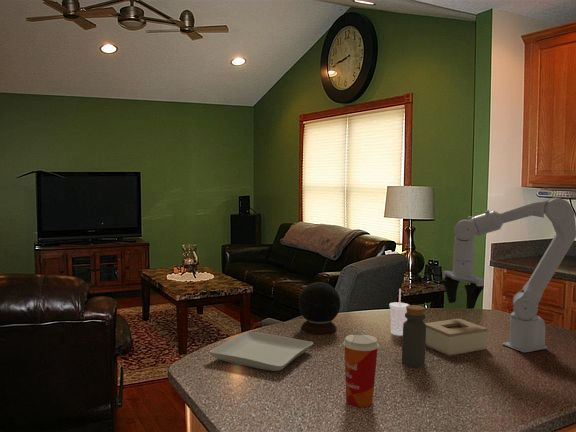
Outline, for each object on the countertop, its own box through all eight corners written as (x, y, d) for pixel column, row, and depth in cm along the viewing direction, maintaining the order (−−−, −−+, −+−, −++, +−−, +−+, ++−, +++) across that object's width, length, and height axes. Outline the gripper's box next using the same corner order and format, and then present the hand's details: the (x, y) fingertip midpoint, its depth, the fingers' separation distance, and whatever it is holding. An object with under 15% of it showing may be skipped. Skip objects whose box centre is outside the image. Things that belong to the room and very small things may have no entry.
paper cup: (338, 394, 119) (340, 333, 118) (372, 394, 120) (374, 333, 119) (345, 410, 111) (347, 344, 110) (381, 409, 112) (383, 344, 111)
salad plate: (314, 352, 148) (314, 340, 147) (281, 379, 129) (281, 365, 128) (247, 341, 157) (247, 329, 156) (207, 364, 137) (207, 351, 137)
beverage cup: (411, 332, 167) (413, 288, 166) (404, 337, 162) (406, 291, 160) (392, 329, 170) (394, 285, 169) (385, 333, 165) (386, 289, 164)
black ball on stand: (289, 330, 166) (290, 283, 165) (310, 321, 177) (311, 276, 176) (327, 338, 159) (328, 288, 158) (346, 328, 170) (348, 281, 169)
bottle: (425, 368, 136) (427, 310, 135) (401, 366, 137) (403, 309, 136) (424, 360, 142) (426, 305, 141) (401, 358, 143) (403, 303, 142)
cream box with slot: (458, 337, 162) (459, 318, 162) (486, 349, 152) (487, 328, 152) (422, 343, 156) (422, 323, 155) (448, 355, 146) (449, 334, 146)
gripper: (435, 257, 163) (434, 301, 165) (471, 265, 151) (469, 312, 152) (453, 256, 167) (451, 299, 168) (489, 263, 154) (487, 310, 155)
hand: (461, 305), depth 160 cm, fingers open, 7 cm apart
